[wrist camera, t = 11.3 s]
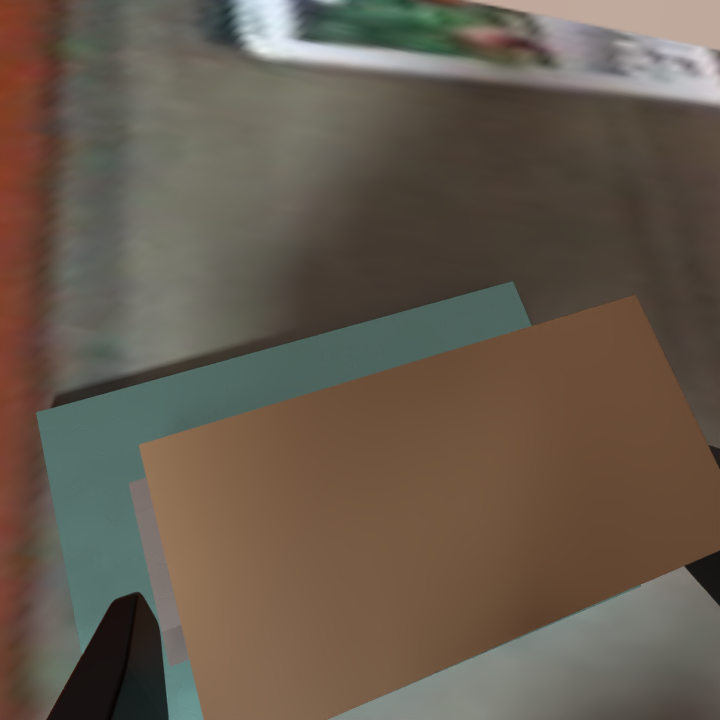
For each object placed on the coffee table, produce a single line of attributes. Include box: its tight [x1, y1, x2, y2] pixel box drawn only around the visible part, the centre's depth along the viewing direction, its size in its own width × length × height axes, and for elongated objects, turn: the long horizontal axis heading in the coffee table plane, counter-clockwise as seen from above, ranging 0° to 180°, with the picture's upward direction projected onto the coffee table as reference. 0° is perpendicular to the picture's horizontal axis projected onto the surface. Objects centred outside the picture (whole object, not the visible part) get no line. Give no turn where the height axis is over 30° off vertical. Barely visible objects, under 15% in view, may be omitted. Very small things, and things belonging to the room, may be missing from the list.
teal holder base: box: [36, 281, 641, 720], centre depth 17 cm, size 18×12×3 cm, turn 108°
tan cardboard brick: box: [139, 295, 720, 720], centre depth 12 cm, size 6×3×13 cm, turn 109°
